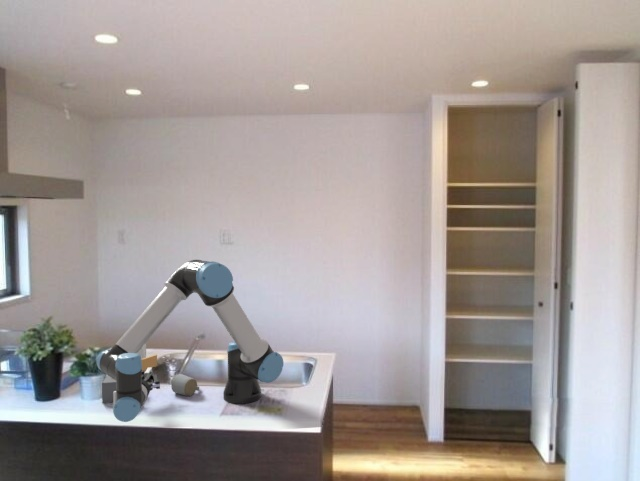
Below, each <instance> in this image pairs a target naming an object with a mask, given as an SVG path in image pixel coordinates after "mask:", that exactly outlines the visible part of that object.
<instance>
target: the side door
mask: <svg viewBox="0 0 640 481" xmlns="http://www.w3.org/2000/svg"><path fill="white" fill-rule="evenodd" d="M141 361H142V372H145V371H146V370H147V368H148V367H152V368H154V367H155V368H156V367H158V355H157V354H154V355H150V356H146V358H143V359H141ZM112 403H113V406H114V405H115V403H116V391H114V392H113V402H112Z"/></svg>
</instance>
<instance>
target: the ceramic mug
mask: <svg viewBox="0 0 640 481" xmlns="http://www.w3.org/2000/svg"><path fill="white" fill-rule="evenodd" d="M171 390H172V392H174V393H175V394H178V395H181V396H186V397H189V396H192V395H194V394H195V392H196V391H199V390H200V386H198V383H197V380H196V379H195V378H193V377H192V376H191V377H190V376H189V375H188V376H187V375H185V374H183V373H179V374H176V375H175V376H174V378H173V380H172V381H171Z"/></svg>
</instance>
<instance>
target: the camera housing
mask: <svg viewBox="0 0 640 481" xmlns="http://www.w3.org/2000/svg"><path fill="white" fill-rule="evenodd" d="M114 391H116V380H114V379H113V378H111V377H110V376H108V375H106V377H105V378H104V379H103V381H102V382H101V395H102V396H101V397H102V398H101V399H102V400H101V401H102V404H106V403H113V392H114Z"/></svg>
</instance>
